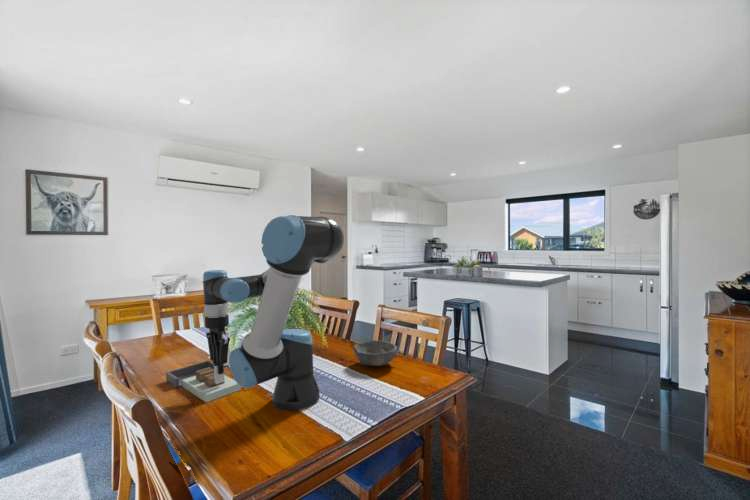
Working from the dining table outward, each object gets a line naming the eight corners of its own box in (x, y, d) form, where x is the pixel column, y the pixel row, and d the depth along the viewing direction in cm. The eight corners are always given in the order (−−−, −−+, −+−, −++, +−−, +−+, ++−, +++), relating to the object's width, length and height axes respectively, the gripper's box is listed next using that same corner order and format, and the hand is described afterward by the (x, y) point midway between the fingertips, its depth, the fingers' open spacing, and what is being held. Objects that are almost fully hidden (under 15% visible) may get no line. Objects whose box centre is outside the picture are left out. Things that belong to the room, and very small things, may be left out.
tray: (220, 374, 141) (219, 365, 140) (176, 388, 129) (176, 378, 128) (208, 368, 147) (208, 360, 147) (166, 381, 135) (166, 372, 135)
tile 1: (215, 378, 131) (215, 370, 131) (201, 382, 127) (201, 374, 127) (209, 374, 134) (209, 367, 134) (195, 379, 130) (195, 371, 130)
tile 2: (224, 383, 126) (224, 374, 126) (210, 387, 122) (210, 379, 122) (218, 379, 129) (217, 371, 129) (204, 384, 126) (203, 375, 125)
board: (240, 390, 126) (240, 383, 126) (206, 402, 117) (205, 395, 117) (215, 376, 139) (214, 369, 139) (182, 386, 130) (182, 379, 130)
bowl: (404, 368, 142) (404, 348, 142) (363, 376, 136) (362, 355, 135) (386, 354, 159) (386, 337, 159) (349, 360, 152) (348, 342, 152)
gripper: (236, 315, 120) (239, 383, 122) (218, 310, 129) (221, 374, 130) (214, 320, 115) (217, 391, 116) (197, 314, 123) (200, 380, 125)
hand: (219, 382), depth 123 cm, fingers closed
